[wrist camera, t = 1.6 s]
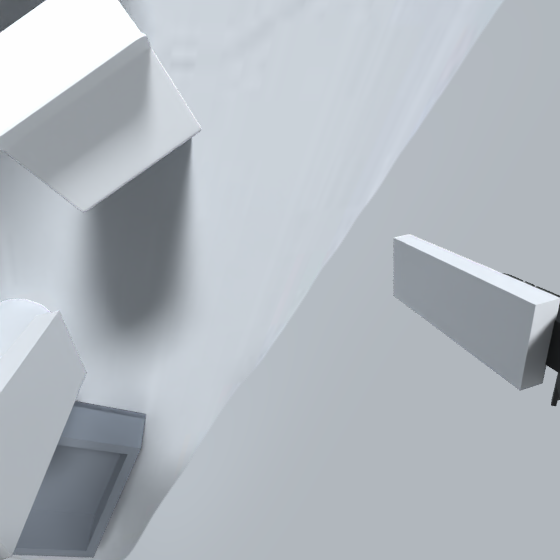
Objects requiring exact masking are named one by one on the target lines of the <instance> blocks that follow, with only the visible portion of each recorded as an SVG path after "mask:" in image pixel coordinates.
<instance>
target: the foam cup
mask: <svg viewBox="0 0 560 560" xmlns="http://www.w3.org/2000/svg"><path fill="white" fill-rule="evenodd" d="M46 313H50V311H49V310H48V309H47V308H46V307H44V306H43V305H42V304H39V303H36V302H33V301H30V300H27V299H7V300H4V301H2V302H0V358H1V357H2V356H3V355H4V354H5V352H6V351H7V350H8V349H9V347H10V346H11V345H12V344H13V343H14V341H15V340H16V339H17V338H18V337H19V335H20V334H21V333H22V332H23V331H24V329H25V328H26V327H27V326H28V324H29V323H30V322H31V321H32V320H33V318H34V317H35V316H36V315H41V314H46Z"/></svg>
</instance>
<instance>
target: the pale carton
mask: <svg viewBox="0 0 560 560" xmlns="http://www.w3.org/2000/svg"><path fill="white" fill-rule="evenodd" d="M200 131H201V126H200V125H199V123H198V121H197V120H196V118H195V116H194V115H193V113H192V112H191V110H190V108H189V107H188V105H187V104H186V102H185V100H184V99H183V97H182V96H181V94H180V92H179V91H178V89H177V88H176V86H175V84H174V83H173V81H172V80H171V78H170V76H169V75H168V73H167V72H166V70H165V68H164V67H163V65H162V64H161V62H160V60H159V59H158V57H157V56H156V54H155V52H154V51H153V49H152V48H151V46H150V44H149V41H148V38H147V36H146V35H145V34H144V33H141V32H140V30H139V29H138V28H137V26H136V25H135V23H134V22H133V21H132V19H131V18H130V16H129V15H128V14H127V12H126V11H125V9H124V8H123V7H122V5H121V4H120V2H119V1H118V0H46V1H44V2H43V3H41V4H40V5H39V6H37V7H36V8H34V9H33V10H31V11H30V12H29V13H27V14H26V15H24V16H23V17H22V18H20V19H19V20H17V21H16V22H15V23H13V24H12V25H10V26H9V27H8V28H6V29H5V30H3V31H2V32H0V151H4V152H5V153H6V154H8V155H9V156H10V157H11V158H13V159H14V160H15V161H17V162H18V163H19V164H20V165H22V166H23V167H24V168H26V169H27V170H28V171H30V172H31V173H32V174H33V175H35V176H36V177H37V178H39V179H40V180H41V181H42V182H44V183H45V184H46V185H48V186H49V187H50V188H51V189H53V190H54V191H55V192H57V193H58V194H59V195H60V196H62V197H63V198H64V199H66V200H67V201H68V202H69V203H71V204H72V205H73V206H75V207H76V208H77V209H79V210H80V211H82V212H87V211H88V210H90V209H91V208H93V207H94V206H95V205H97V204H98V203H100V202H101V201H102V200H104V199H105V198H107V197H108V196H110V195H111V194H112V193H114V192H115V191H117V190H118V189H119V188H121V187H122V186H124V185H125V184H127V183H128V182H129V181H131V180H132V179H134V178H135V177H136V176H138V175H139V174H141V173H142V172H144V171H145V170H146V169H148V168H149V167H151V166H152V165H153V164H155V163H156V162H158V161H159V160H161V159H162V158H163V157H165V156H166V155H168V154H169V153H170V152H172V151H173V150H175V149H176V148H178V147H179V146H180V145H182V144H183V143H185V142H186V141H187V140H189V139H190V138H192V137H193V136H195V135H196V134H197V133H199V132H200Z"/></svg>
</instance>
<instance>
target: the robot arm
mask: <svg viewBox="0 0 560 560" xmlns="http://www.w3.org/2000/svg"><path fill="white" fill-rule="evenodd" d="M394 296H395V297H396V298H397V299H399V300H400V301H401V302H403V303H404V304H405V305H407V306H408V307H409V308H411V309H412V310H413V311H415V312H416V313H417V314H419V315H420V316H421V317H423V318H424V319H425V320H427V321H428V322H429V323H431V324H432V325H433V326H435V327H436V328H437V329H439V330H440V331H441V332H443V333H444V334H445V335H447V336H448V337H449V338H451V339H452V340H453V341H455V342H456V343H457V344H459V345H460V346H461V347H463V348H464V349H465V350H467V351H468V352H469V353H471V354H472V355H473V356H475V357H476V358H477V359H479V360H480V361H481V362H483V363H484V364H485V365H487V366H488V367H490V368H491V369H492V370H493V371H495V372H496V373H497V374H499V375H500V376H501V377H503V378H504V379H505V380H507V381H508V382H509V383H511V384H512V385H513V386H515V387H516V388H517V389H519V390H523V389H526V388H529V387H533V386H536V385H539V384H542V383H543V378H544V374H545V369H546V365H547V366H549V367H550V368H552V369H554V370H555V371H557V372H558V375H557V379H556V384H555V388H554V392H553V397H552V402H551V405H552V406H556V404H557V401H558V400H560V296H559V295H556V294H554V293H552V292H550V291H547V290H545V289H542V288H540V287H535V286H534V285H533V284H531V283H528V282H523V280H521V279H519V278H516V277H514V276H512V275H509V274H505V273H500V272H498V271H496V270H493V269H491V268H489V267H486V266H484V265H482V264H479V263H477V262H474V261H472V260H470V259H467V258H465V257H463V256H460V255H458V254H456V253H453V252H451V251H449V250H446V249H444V248H441V247H439V246H437V245H434V244H432V243H430V242H427V241H425V240H422V239H420V238H418V237H415V236H413V235H411V234H408V235H403V236H399V237H394ZM86 373H87V372H86V370H85V368H84V366H83V363H82V361H81V359H80V357H79V354H78V352H77V350H76V348H75V345H74V343H73V341H72V338H71V336H70V334H69V332H68V329H67V327H66V325H65V323H64V320H63V318H62V316H61V314H60V311H55V312H50V313H46V314H41V315H36V316H35V317H34V318H33V320H32V321H31V322H30V323H29V324H28V326H27V327H26V328H25V329H24V331H23V332H22V333H21V334H20V335H19V337H18V338H17V339H16V340H15V341H14V343H13V344H12V345H11V346H10V347H9V349H8V350H7V351H6V352H5V354H4V355H3V356H2V357H1V358H0V560H3V559H6V558H9V557H12V554H13V552H14V550H15V547H16V545H17V542H18V540H19V537H20V535H21V532H22V530H23V527H24V525H25V523H26V520H27V518H28V515H29V513H30V510H31V508H32V505H33V503H34V501H35V498H36V496H37V493H38V491H39V488H40V486H41V483H42V481H43V478H44V476H45V474H46V471H47V469H48V466H49V464H50V461H51V459H52V456H53V454H54V451H55V449H56V447H57V444H58V442H59V439H60V437H61V434H62V432H63V429H64V427H65V425H66V422H67V420H68V417H69V415H70V412H71V410H72V407H73V405H74V402H75V400H76V398H77V395H78V393H79V390H80V388H81V385H82V383H83V380H84V378H85V376H86Z"/></svg>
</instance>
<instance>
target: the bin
mask: <svg viewBox="0 0 560 560" xmlns="http://www.w3.org/2000/svg"><path fill="white" fill-rule="evenodd" d="M145 416H146V414H143V413H138V412H132V411H127V410H121V409H116V408H110V407H105V406H100V405H94V404H89V403H83V402H78V401H75V402H74V405H73V407H72V410H71V412H70V415H69V417H68V420H67V422H66V425H65V427H64V429H63V432H62V434H61V437H60V439H59V442H58V444H57V447H56V449H55V451H54V454H53V456H52V459H51V461H50V464H49V466H48V469H47V471H46V474H45V476H44V478H43V481H42V483H41V486H40V488H39V491H38V493H37V496H36V498H35V501H34V503H33V505H32V508H31V510H30V513H29V515H28V518H27V520H26V523H25V525H24V527H23V530H22V532H21V535H20V537H19V540H18V542H17V545H16V547H15V550H14V552H13V554H12V555H37V556H65V557H94V555H95V552H96V550H97V548H98V546H99V543H100V541H101V539H102V536H103V534H104V532H105V530H106V527H107V525H108V523H109V520H110V518H111V516H112V514H113V511H114V509H115V507H116V504H117V502H118V500H119V498H120V495H121V493H122V491H123V488H124V486H125V484H126V482H127V479H128V477H129V475H130V472H131V470H132V468H133V466H134V463H135V461H136V459H137V456H138V454H139V452H140V450H141V445H142V438H143V430H144V423H145Z"/></svg>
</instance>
